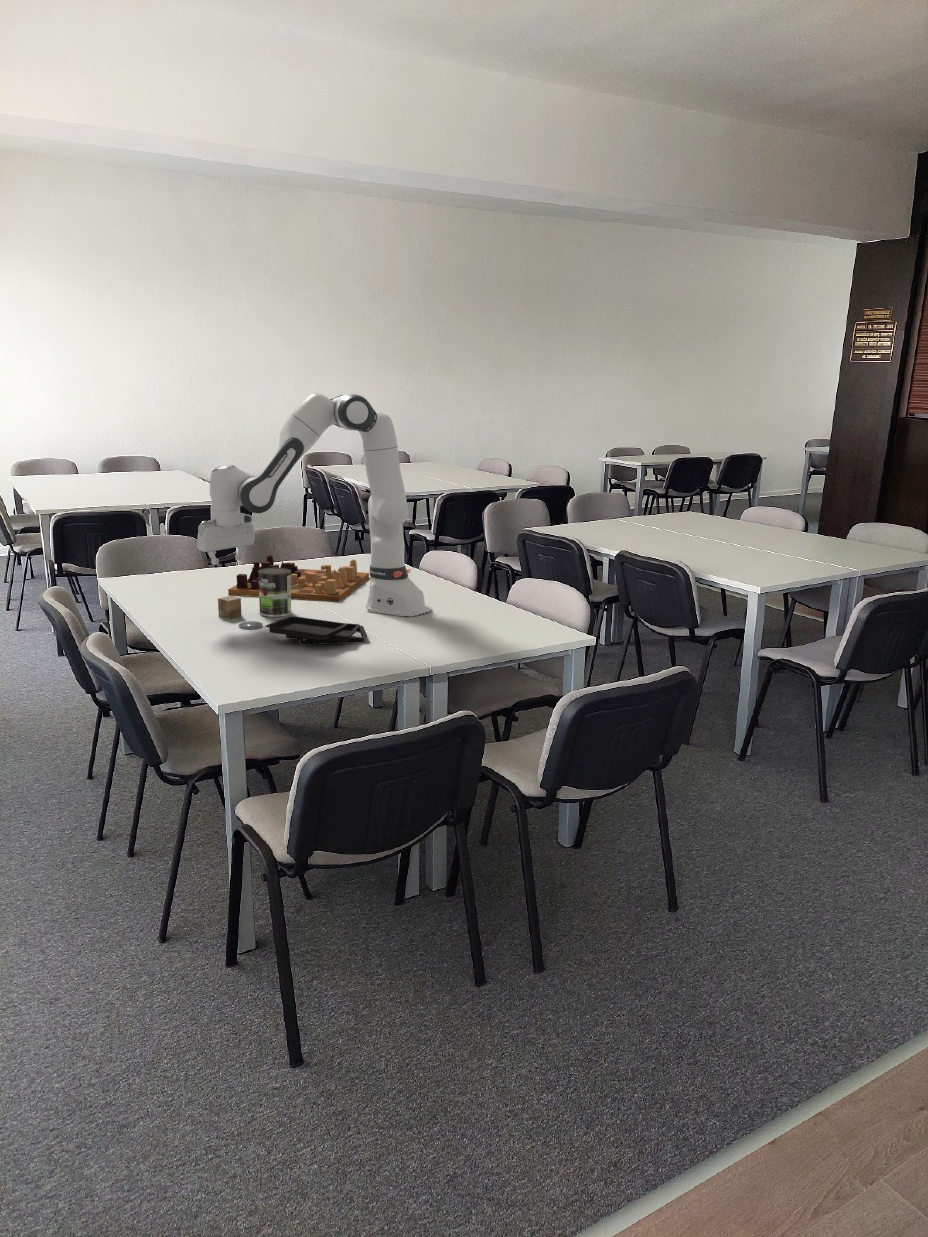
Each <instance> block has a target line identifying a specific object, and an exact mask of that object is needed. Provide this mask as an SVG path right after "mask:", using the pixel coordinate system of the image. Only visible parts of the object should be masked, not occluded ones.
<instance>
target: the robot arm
mask: <svg viewBox="0 0 928 1237" xmlns="http://www.w3.org/2000/svg"><path fill="white" fill-rule="evenodd" d="M284 422H285V423H284V424H283V426H282V428H281V430H280V432H279V444H278V448H277V451H276V453H275V454H274V455H273V457H272V459H271V460H270V461H269V463H268V464H267V465H266V467H265V468H264V470H262V473H261V474H260V475H257V476H256V475H253V474H250V473H248V472H245V471H244V470H242V469H240V467H239V468H238V467H237V466H236V465H233V464H228V465H221V466H220V465H219V466H217V467H215V468H213V469H212V471H211V472H210V476H209V496H210V499H211V505H210V520H204V521H201V523H200V524H199V525H198V527H197V530H198V532H197V539H196V540H197V542H196V547H197V550H199V552H203V553H207V554H208V557H209V558H210V559H211V560H210V562H211V565H213V566H216V565H217V566H218V565H219V564H220V563H219V562H220V560H219V558H217V557H216V554H217V551H221V550H228V549H232V548H237V549H238V550H237V553H236V554H235V555H234V556H235V561H237V562H238V561H243V556H244V552H245V551H246V547H247V546H252V545H254V543H255V542H256V541H255V539H256V537H255V536H256V534H255V526H254V523H253V522H254V516H253V515H251V514H246V513H243V512H241V506H243V507H244V508H245V510H247V511H248V512H250V513H253V514H262V513H263V514H264V513H265V512H267V511H269V510H270V509H271V508H272V507H273V505H274V503H275V501H276V496H277V493H278V492H277V491H278V489H279V487H280V486H281V484H282V483H283V482H284V480H285V479H286V477H287V476H288V475H289V474H290V472H291V470H292V468H293V467H294V466H295V465H296V463H297V462H298V461H299V460H300V459H301V458H302V457H303V456H304V455H305V454H306V453H307V452H308V451H309V450H310V449H311V448H312V447H313V446H314V445H315V444H316V443H317V442H318V441H319V439H320V438H321V437H322V435H323V434H324V432H325V431H326V430H327V429H328V428H330V427H331V426H333V425H334V426H336V427H338V428H340V429H344V430H347V431H357V432H358V433H359V434H360V437H361V440H362V447H363V448H362V449H363V450H362V451H363V457H364V466H365V472H366V478H367V481H368V485H369V489H370V490H369V491H370V496H369V498H368V502H367V509H368V523H369V534H370V565H369V578H370V584H369V591H368V592H369V593H368V598H367V603H366V605H365V606H366V608H367V612H369V613H376V612H377V614H385V615H389V616H390V615H391V616H392V615H393V616H398V617H404V616H409V617H415V615H416V616H420V615H419V614H421V615H423V614H422V613H424V612H427V613H429V612H431V611H432V606H431V605H427V604H426V603H425V595H424V592H423V591H422V590H421V589H420V588H419V587H418V586H417V585H416V583H415V582H414V581H412V579H411V578H410V577H409V574H410V573H411V569H407V567H406V565H405V539H404V531H403V524H404V523H405V521H406V520H407V518H408V515H409V507H408V502H407V501H408V500H407V495H406V490H405V486H404V481H403V477H402V473H401V464H400V457H399V456H400V455H399V448H398V442H397V441H398V440H397V435H396V430H395V426H394V424H393V420H392V418H391V417H390V416H389V415H388V414H386V413H383V412H376V410H375V409H374V407H373V406H372V405H371V403H370V402H369V401H368V399H366V398H365V397H364V396H362V395H361V394H355V393H344V394H341V395H338V396H335V397H332V398H331V399H330V398H328V397H327V396H325V395H324V394H321V393H317V392H315V393H312V394H310V395H308V396H307V398H305V399H304V400H303V401H301V403H300V404H299V405H298V406H297V407H296V408H295V409H294V410H293V412H292V413H291V414H290V415H289V417H288V418H287V420H286V421H284ZM430 610H431V611H430ZM424 614H425V613H424Z"/></svg>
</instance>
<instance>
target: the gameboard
mask: <svg viewBox="0 0 928 1237" xmlns="http://www.w3.org/2000/svg"><path fill="white" fill-rule="evenodd" d="M274 562H275V560H274V557H273V555H270V554H269V555H267V556H266V561H262V562H259V561H254V562H253V567H251V572H250V575H249V577H248V574H247V573H238V574H237V575H236V585H234V586H232V587H230V588H228V590H227V591H228V593H227V594H228V595H227V596H240V595H251V596H250V597H256V596H259V574H258V570H260V569H264V568H286V569H289V570H291V573H290V576H291V598H297V599H296V600H304V599H308V600H307V601H322V602H323V601H324V602H340V601H342V600H343V599H344V598H346V597H347V596H348V595H349V594H351V593H352V592H353V591H354V590H355V588H356V589H357V588H358V587H359V586H360V585H362V584H364V583H365V582H366V581H367V580H369V579H370V572H363V571H362V572H360V571H358V564H357V561H356V559H354V558H353V559H351V560H350V561H349V562H350V563H349V565H348V566H346V565H345V566H341V567H339V568H338V569H337V570H336V569H335V568H334V569H333V570H332V565H331V564H321V566H320V569H309V568H298V565H296V563H295V562H284V561H283V560H282V561H281V564H275V563H274Z"/></svg>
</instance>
